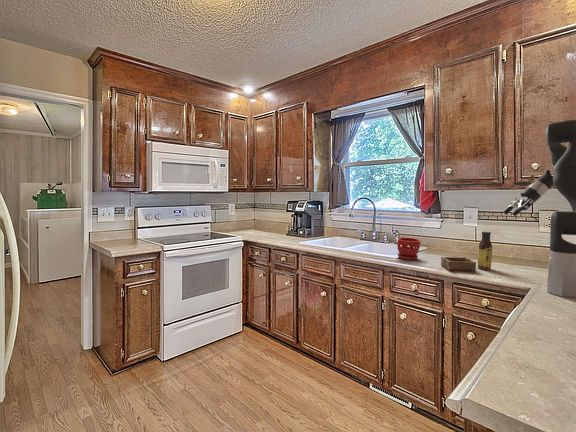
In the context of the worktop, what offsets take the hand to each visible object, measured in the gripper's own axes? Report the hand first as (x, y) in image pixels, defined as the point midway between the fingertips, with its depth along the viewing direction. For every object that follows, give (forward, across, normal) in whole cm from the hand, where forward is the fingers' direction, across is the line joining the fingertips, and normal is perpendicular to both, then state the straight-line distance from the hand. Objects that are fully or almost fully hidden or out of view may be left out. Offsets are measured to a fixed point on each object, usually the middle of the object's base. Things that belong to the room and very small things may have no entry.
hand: (508, 214), depth 168 cm
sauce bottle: (+28, 0, +13) cm, 31 cm away
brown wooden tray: (+38, +2, +3) cm, 38 cm away
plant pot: (+52, -22, -10) cm, 58 cm away
